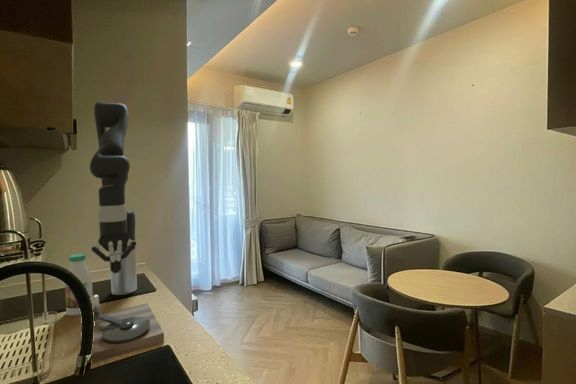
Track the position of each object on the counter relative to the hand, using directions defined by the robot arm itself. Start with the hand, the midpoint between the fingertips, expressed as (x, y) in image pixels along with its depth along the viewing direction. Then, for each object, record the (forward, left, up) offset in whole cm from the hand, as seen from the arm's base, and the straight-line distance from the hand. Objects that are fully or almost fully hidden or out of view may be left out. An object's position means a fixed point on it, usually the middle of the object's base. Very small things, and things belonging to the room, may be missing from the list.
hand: (115, 272), depth 96 cm
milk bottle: (-17, -10, -17) cm, 25 cm away
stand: (+9, 0, -16) cm, 19 cm away
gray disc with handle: (+10, -1, -14) cm, 17 cm away
